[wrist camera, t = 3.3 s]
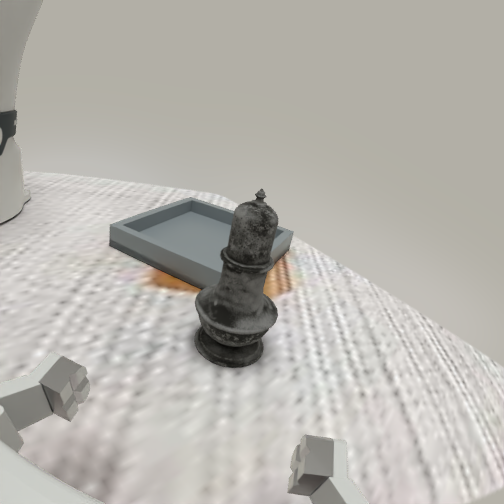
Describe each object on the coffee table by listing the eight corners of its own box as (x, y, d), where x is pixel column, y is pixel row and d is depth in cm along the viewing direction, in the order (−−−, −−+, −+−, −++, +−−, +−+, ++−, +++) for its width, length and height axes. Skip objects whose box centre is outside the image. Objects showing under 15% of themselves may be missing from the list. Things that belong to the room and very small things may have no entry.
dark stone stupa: (260, 322, 27) (295, 184, 22) (273, 372, 22) (323, 213, 17) (191, 316, 26) (212, 170, 21) (190, 367, 21) (214, 195, 16)
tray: (109, 245, 34) (109, 224, 33) (188, 213, 47) (190, 197, 46) (234, 303, 29) (239, 280, 28) (289, 248, 43) (293, 231, 42)
